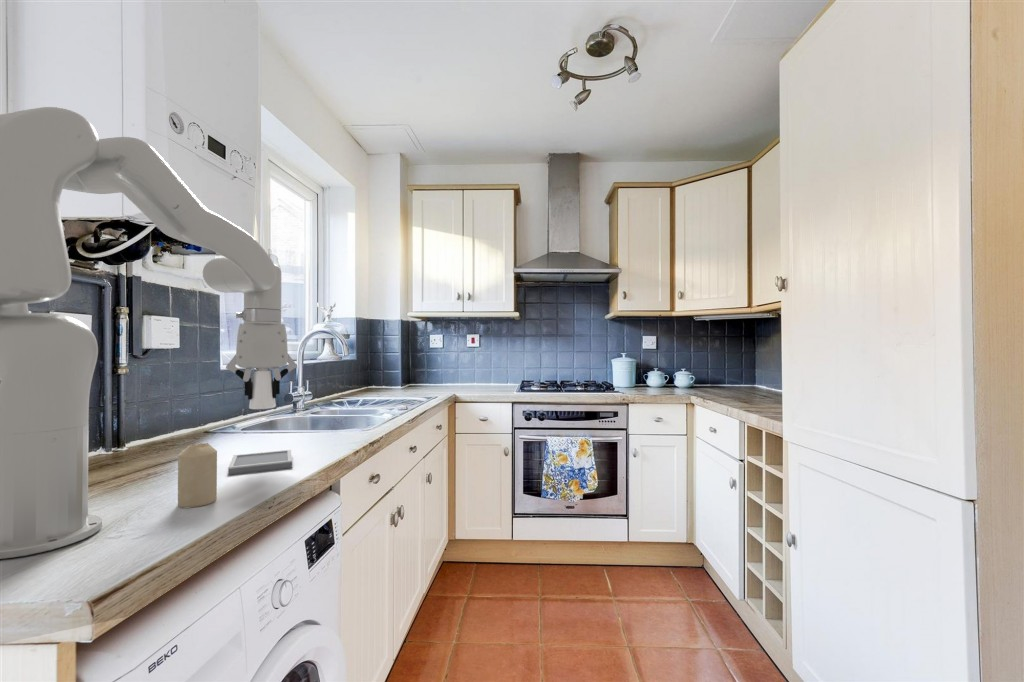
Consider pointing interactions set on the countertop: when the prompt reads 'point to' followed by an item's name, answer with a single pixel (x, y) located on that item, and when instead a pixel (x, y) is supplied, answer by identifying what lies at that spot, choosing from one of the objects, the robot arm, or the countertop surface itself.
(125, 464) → the countertop surface
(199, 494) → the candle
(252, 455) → the tray
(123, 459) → the countertop surface
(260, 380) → the salt shaker
